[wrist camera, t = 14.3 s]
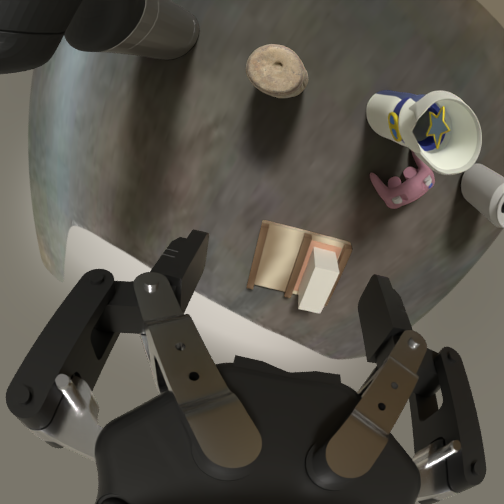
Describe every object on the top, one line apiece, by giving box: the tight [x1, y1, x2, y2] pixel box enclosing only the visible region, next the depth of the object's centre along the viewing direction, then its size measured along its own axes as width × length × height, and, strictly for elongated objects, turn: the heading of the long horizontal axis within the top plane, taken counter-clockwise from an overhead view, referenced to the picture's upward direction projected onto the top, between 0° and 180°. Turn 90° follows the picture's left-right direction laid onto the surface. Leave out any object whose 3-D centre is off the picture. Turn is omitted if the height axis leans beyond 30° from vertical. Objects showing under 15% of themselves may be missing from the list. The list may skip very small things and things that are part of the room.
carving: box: [246, 44, 308, 98], centre depth 30 cm, size 6×8×12 cm
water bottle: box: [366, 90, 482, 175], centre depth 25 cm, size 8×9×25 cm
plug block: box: [298, 247, 339, 313], centre depth 47 cm, size 9×4×6 cm, turn 169°
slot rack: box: [247, 220, 352, 306], centre depth 50 cm, size 16×13×2 cm
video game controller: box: [370, 150, 435, 209], centre depth 37 cm, size 10×5×7 cm, turn 129°
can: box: [461, 164, 504, 228], centre depth 32 cm, size 8×8×12 cm
